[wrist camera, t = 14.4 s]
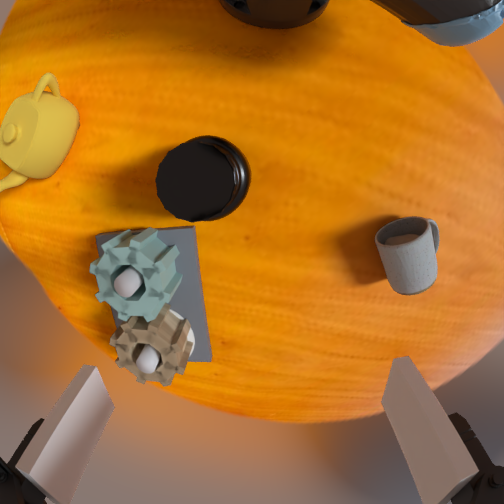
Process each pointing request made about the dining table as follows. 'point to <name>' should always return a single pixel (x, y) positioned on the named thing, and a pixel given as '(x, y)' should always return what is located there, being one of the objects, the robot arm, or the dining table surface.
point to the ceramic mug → (409, 253)
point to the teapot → (37, 133)
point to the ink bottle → (203, 179)
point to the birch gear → (154, 345)
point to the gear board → (185, 289)
